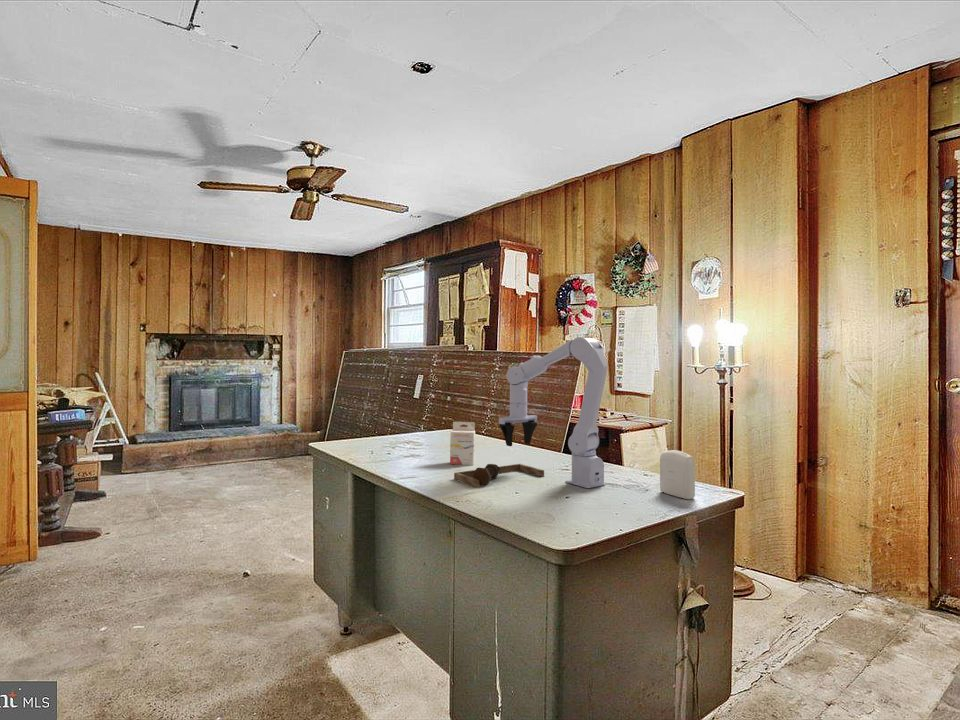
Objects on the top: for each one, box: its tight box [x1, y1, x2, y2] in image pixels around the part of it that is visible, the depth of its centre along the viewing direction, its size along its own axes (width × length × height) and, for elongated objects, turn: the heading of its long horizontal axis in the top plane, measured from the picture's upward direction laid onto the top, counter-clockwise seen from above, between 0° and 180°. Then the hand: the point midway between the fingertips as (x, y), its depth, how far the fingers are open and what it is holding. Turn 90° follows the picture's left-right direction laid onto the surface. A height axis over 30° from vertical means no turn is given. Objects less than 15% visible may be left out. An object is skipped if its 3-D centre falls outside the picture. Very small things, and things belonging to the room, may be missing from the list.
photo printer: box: [659, 449, 696, 500], centre depth 148 cm, size 10×4×12 cm, turn 26°
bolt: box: [472, 463, 500, 487], centre depth 165 cm, size 6×5×15 cm
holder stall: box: [453, 463, 545, 488], centre depth 168 cm, size 12×26×2 cm, turn 124°
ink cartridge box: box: [449, 421, 476, 466], centre depth 190 cm, size 9×5×15 cm, turn 84°
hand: (518, 444), depth 174 cm, fingers open, 7 cm apart
